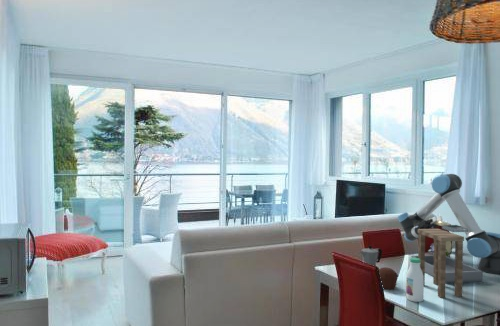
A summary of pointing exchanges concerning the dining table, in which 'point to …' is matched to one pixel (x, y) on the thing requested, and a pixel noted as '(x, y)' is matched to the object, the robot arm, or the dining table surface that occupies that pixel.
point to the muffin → (388, 278)
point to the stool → (442, 258)
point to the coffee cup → (448, 246)
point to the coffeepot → (371, 255)
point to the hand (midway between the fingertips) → (438, 218)
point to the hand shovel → (450, 226)
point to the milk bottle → (414, 281)
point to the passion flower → (433, 250)
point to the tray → (453, 270)
